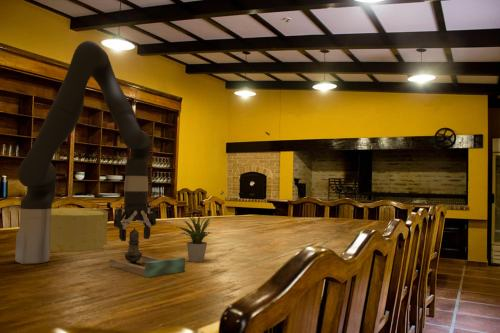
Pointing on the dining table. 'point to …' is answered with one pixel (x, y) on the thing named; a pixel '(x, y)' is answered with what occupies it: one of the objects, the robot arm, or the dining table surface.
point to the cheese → (78, 229)
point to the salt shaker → (133, 249)
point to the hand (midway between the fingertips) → (135, 239)
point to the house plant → (196, 240)
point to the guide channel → (151, 266)
